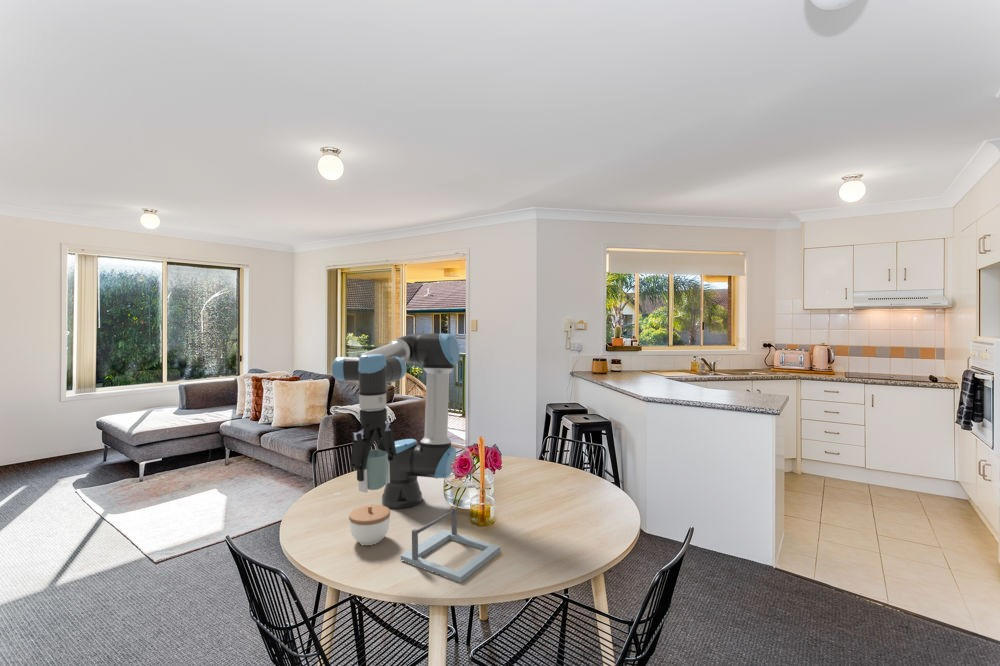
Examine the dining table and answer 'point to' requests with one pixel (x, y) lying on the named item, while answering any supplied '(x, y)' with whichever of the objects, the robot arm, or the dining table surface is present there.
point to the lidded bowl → (369, 523)
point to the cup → (377, 469)
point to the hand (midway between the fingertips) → (374, 486)
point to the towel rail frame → (440, 538)
